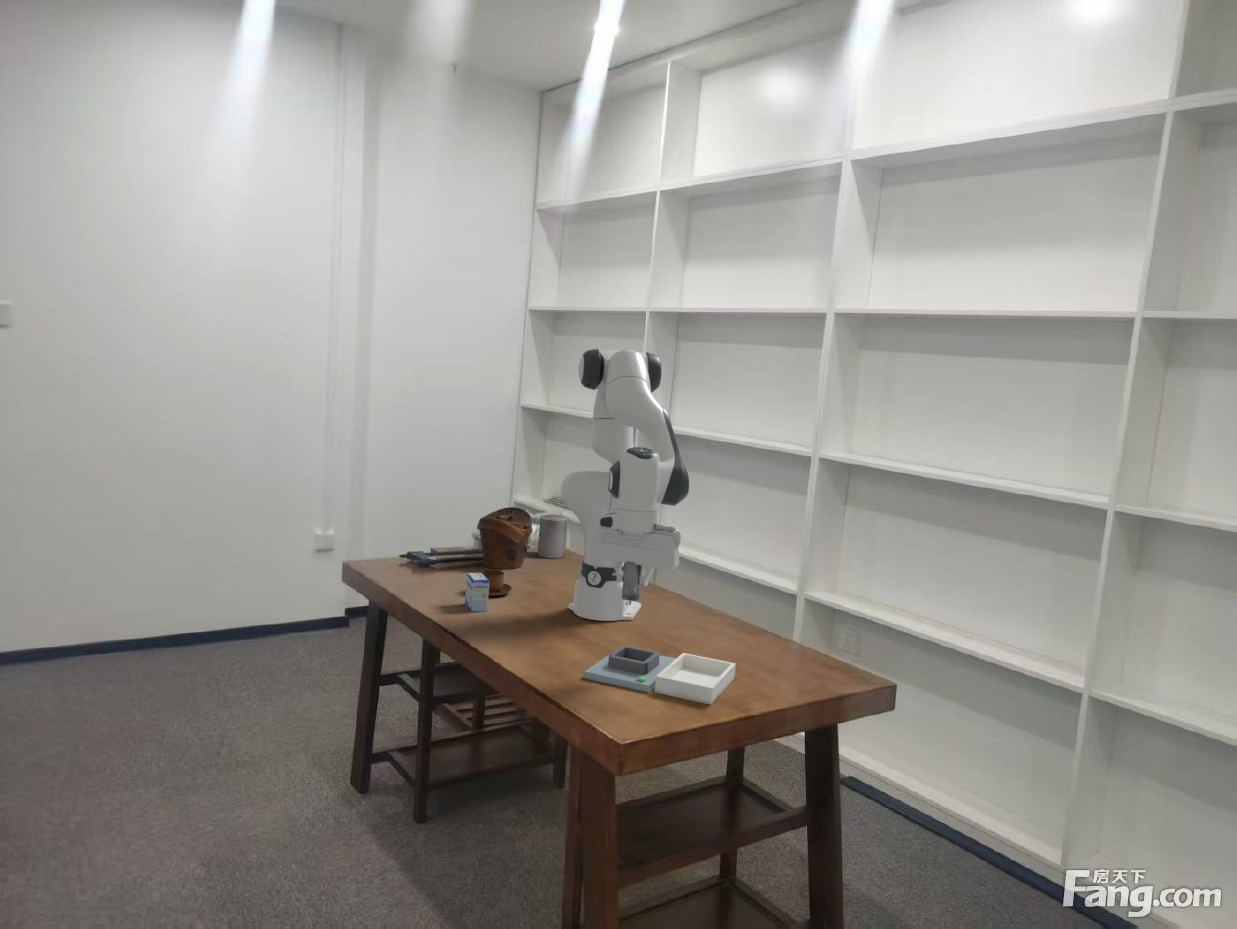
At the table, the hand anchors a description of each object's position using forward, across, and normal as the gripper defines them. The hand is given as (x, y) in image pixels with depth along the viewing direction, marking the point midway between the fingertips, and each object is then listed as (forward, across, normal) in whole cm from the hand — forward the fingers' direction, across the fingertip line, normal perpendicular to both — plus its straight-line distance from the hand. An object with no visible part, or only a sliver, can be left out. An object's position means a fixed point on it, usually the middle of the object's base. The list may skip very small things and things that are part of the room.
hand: (632, 583), depth 196 cm
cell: (+3, 0, 0) cm, 3 cm away
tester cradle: (+20, -2, 0) cm, 20 cm away
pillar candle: (+18, +67, -92) cm, 115 cm away
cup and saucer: (+19, +58, -37) cm, 71 cm away
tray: (+20, -16, 0) cm, 26 cm away
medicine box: (+19, +53, -22) cm, 60 cm away
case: (+18, +72, -69) cm, 101 cm away
